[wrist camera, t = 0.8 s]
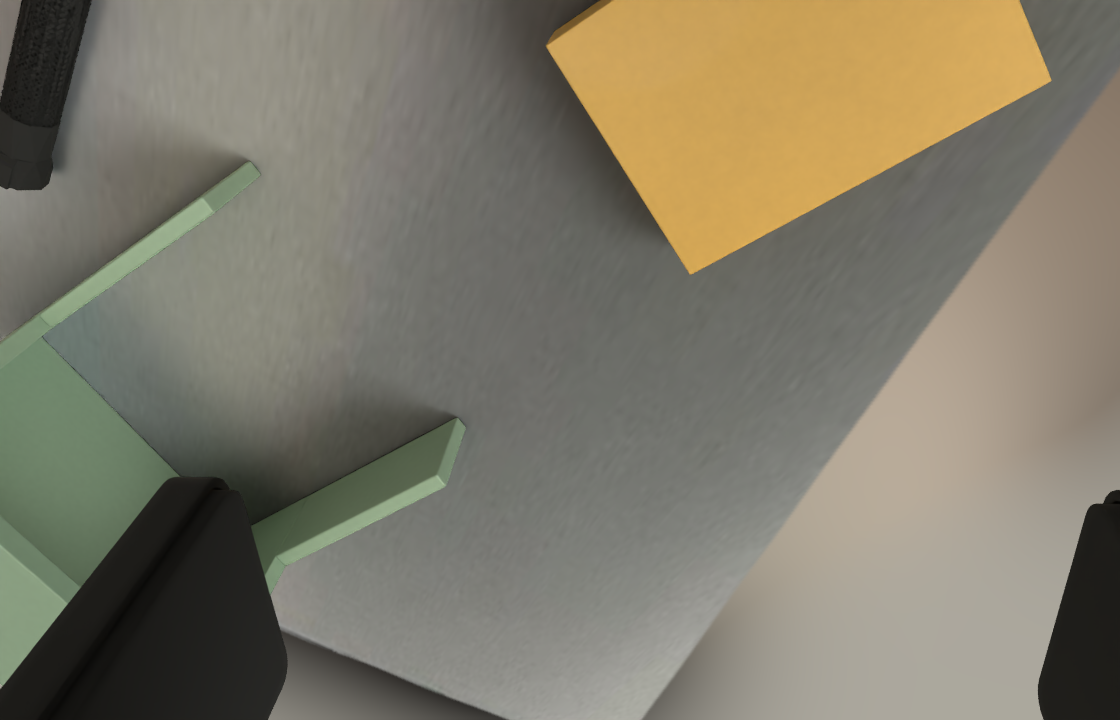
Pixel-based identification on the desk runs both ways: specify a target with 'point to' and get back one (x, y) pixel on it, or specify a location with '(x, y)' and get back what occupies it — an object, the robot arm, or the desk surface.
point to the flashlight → (37, 88)
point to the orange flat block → (783, 98)
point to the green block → (139, 463)
